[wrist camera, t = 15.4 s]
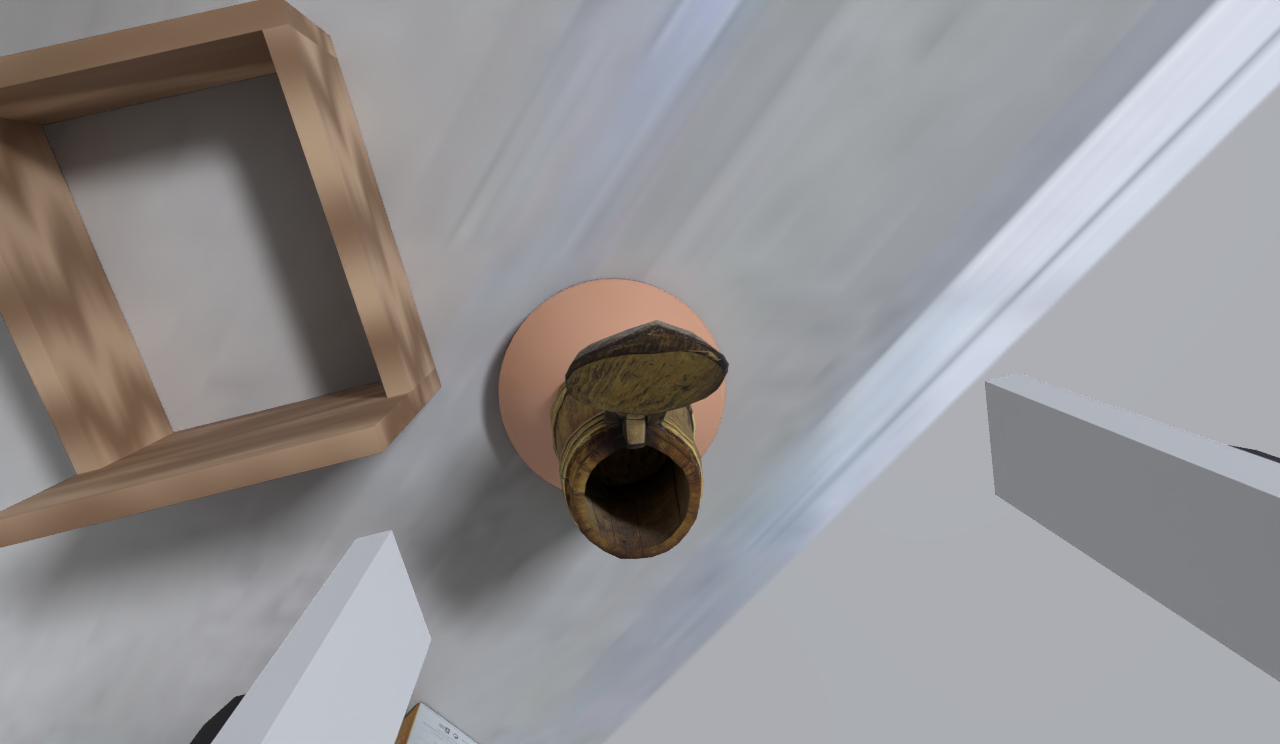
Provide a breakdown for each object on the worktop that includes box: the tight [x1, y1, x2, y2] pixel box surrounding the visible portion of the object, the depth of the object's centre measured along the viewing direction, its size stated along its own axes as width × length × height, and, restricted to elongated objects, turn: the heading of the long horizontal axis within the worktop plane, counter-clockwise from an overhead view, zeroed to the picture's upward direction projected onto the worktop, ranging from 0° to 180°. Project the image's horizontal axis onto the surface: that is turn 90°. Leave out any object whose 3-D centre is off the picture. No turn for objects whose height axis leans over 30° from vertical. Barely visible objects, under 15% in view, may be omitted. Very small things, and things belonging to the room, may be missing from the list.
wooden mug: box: [550, 320, 729, 559], centre depth 30 cm, size 9×14×18 cm, turn 0°
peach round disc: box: [498, 278, 726, 490], centre depth 40 cm, size 14×14×2 cm
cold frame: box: [0, 0, 441, 548], centre depth 31 cm, size 20×17×12 cm
